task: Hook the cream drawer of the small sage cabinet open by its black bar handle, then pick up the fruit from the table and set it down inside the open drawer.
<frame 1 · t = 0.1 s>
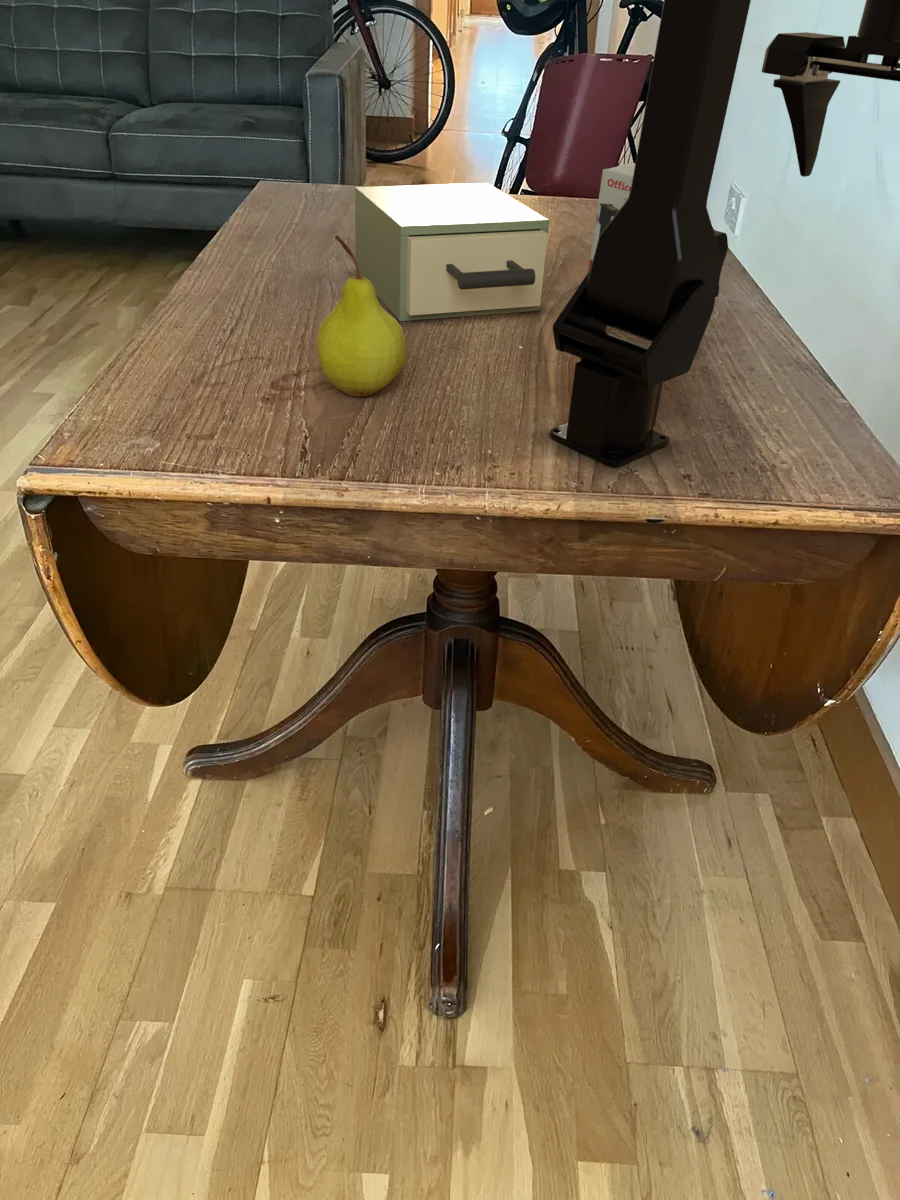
hand: (855, 186, 77), 15 cm above the table, tool pointing down, fingers open, 9 cm apart
fruit: (361, 394, 75), on the table
drawer: (460, 260, 91), point 4 cm above the table, slide at 0.0 cm, touching cabinet
cabinet: (444, 291, 97), on the table
ink box: (629, 293, 99), on the table
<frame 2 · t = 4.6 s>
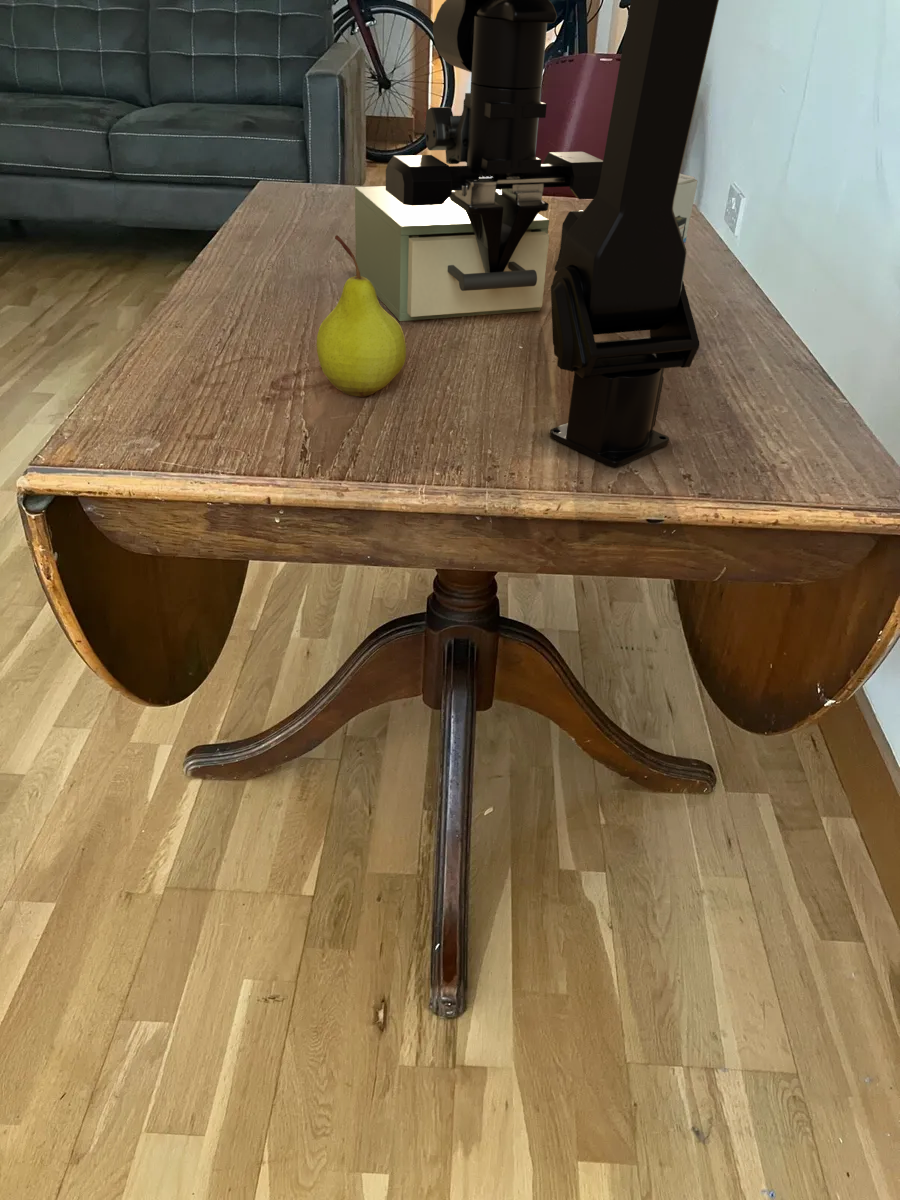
hand: (492, 280, 85), 5 cm above the table, tool pointing down, fingers closed, pressing on drawer
drawer: (462, 261, 91), point 4 cm above the table, slide at 0.4 cm, touching gripper
everything else where it was.
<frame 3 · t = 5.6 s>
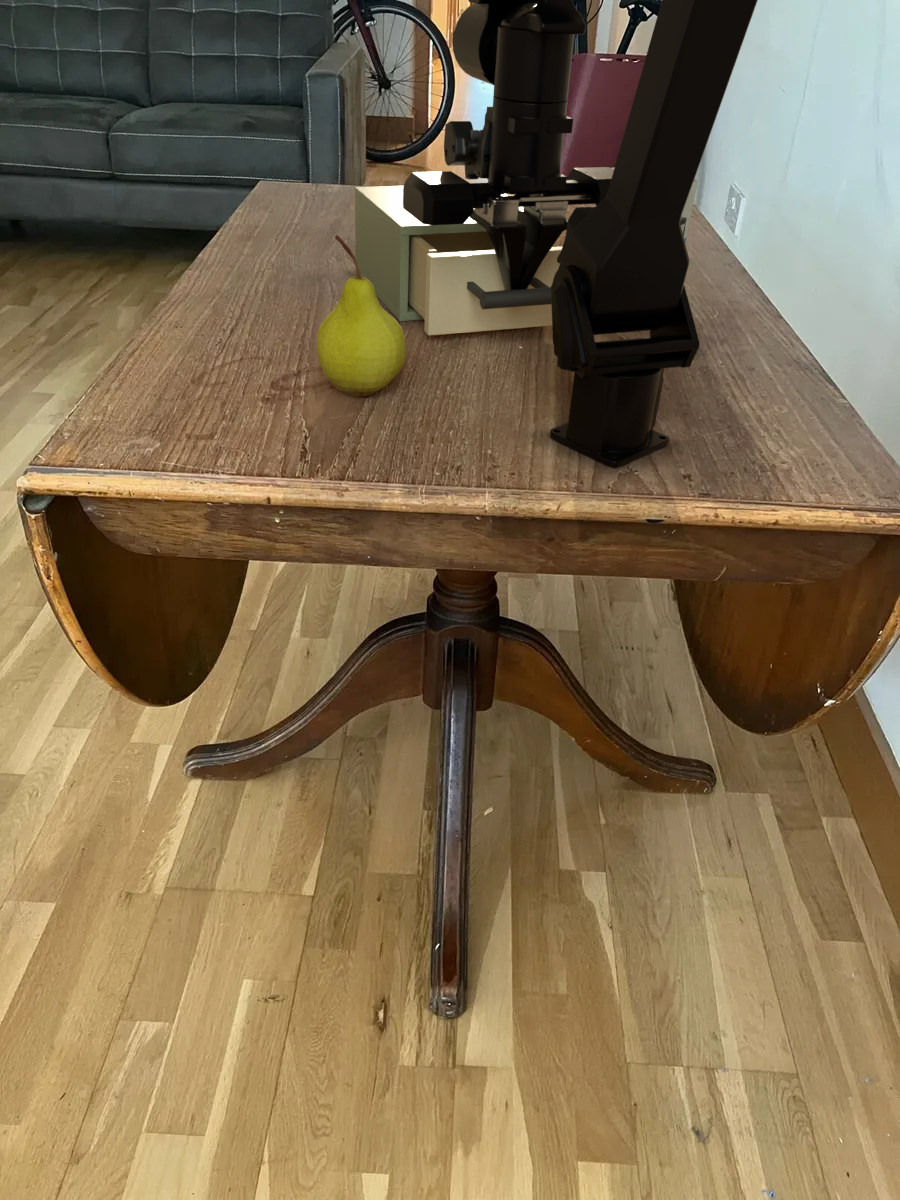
hand: (513, 300, 81), 4 cm above the table, tool pointing down, fingers closed, pressing on drawer
drawer: (481, 276, 87), point 4 cm above the table, slide at 5.4 cm, touching gripper
everything else where it was.
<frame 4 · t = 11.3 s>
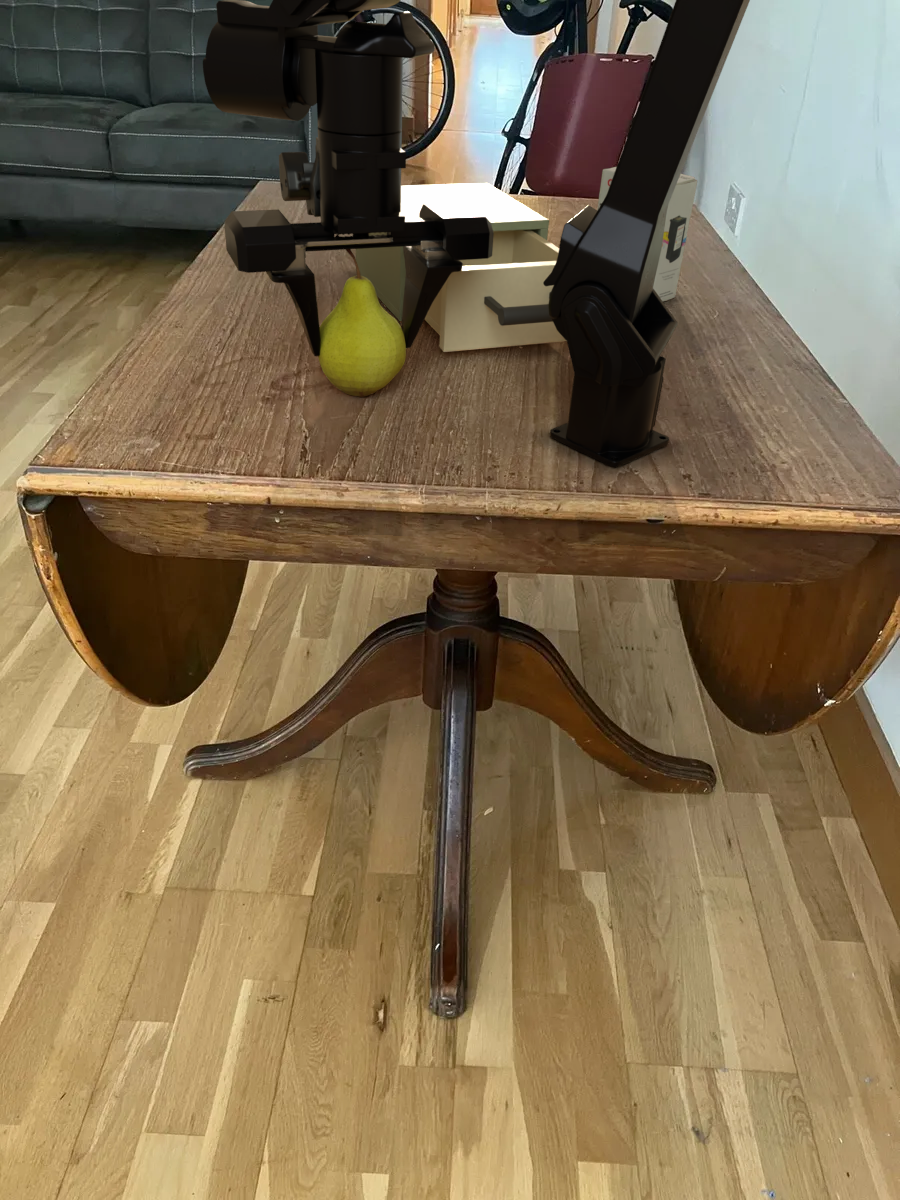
hand: (362, 350, 73), 3 cm above the table, tool pointing down, fingers closed on fruit, 7 cm apart
fruit: (361, 394, 75), on the table, touching gripper
drawer: (497, 290, 84), point 4 cm above the table, slide at 9.4 cm
everything else where it was.
when the fingers open (6 cm above the table, at t = 17.6 s): fruit stays where it is, resting on drawer.
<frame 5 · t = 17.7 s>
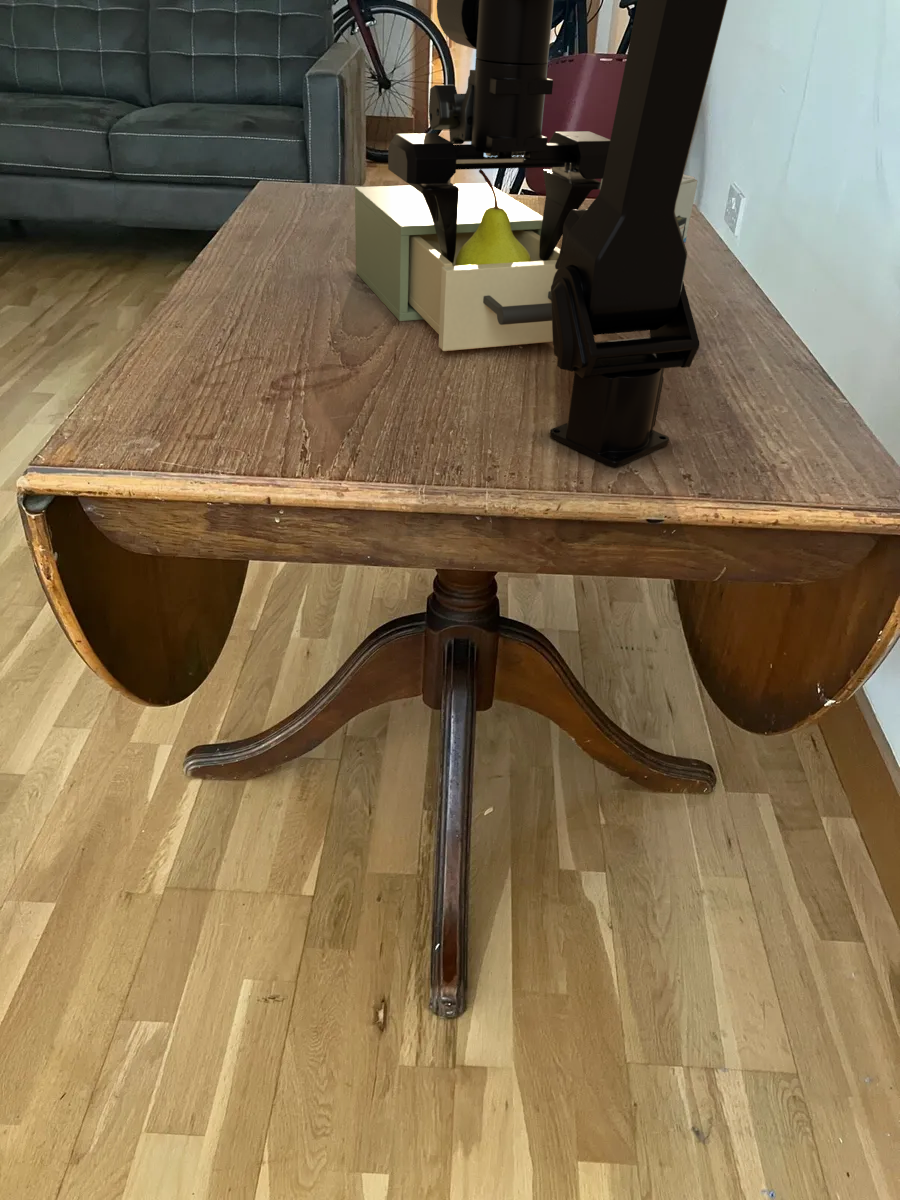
hand: (496, 262, 83), 7 cm above the table, tool pointing down, fingers open, 9 cm apart
fruit: (490, 313, 86), point 2 cm above the table, touching drawer
drawer: (496, 289, 84), point 4 cm above the table, slide at 9.2 cm, touching fruit
everything else where it was.
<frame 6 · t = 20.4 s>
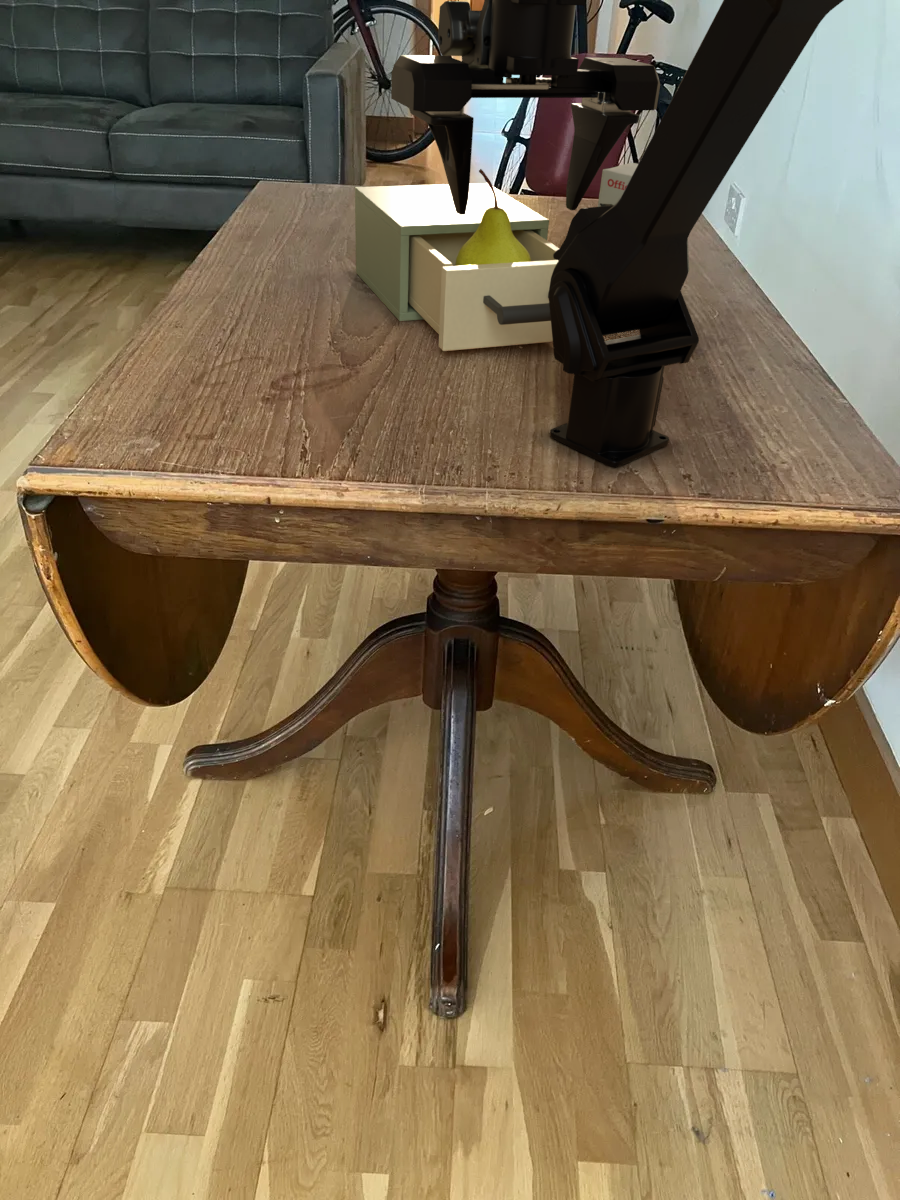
hand: (516, 211, 72), 13 cm above the table, tool pointing down, fingers open, 9 cm apart
nothing on the table moved.
at the end: drawer slide at 9.2 cm; fruit inside the target area in the drawer (0.5 cm from its centre), point 1.8 cm above the cabinet's base; fruit tilted 0° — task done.
